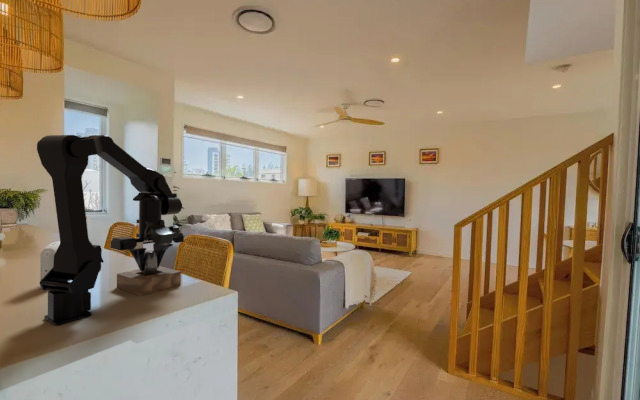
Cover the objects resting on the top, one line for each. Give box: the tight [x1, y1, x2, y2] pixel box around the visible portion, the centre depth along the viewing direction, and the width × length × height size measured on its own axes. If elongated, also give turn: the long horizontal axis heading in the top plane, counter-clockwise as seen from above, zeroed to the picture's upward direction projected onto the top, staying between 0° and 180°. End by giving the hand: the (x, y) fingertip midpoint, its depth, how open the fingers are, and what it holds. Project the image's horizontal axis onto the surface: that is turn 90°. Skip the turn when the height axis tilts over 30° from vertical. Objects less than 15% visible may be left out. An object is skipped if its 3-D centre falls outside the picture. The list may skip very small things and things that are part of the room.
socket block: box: [116, 265, 182, 297], centre depth 89 cm, size 12×12×4 cm
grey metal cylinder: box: [142, 250, 158, 276], centre depth 89 cm, size 4×4×8 cm
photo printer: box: [39, 240, 60, 288], centre depth 89 cm, size 10×4×12 cm, turn 17°
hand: (149, 269), depth 89 cm, fingers closed on grey metal cylinder, 4 cm apart
